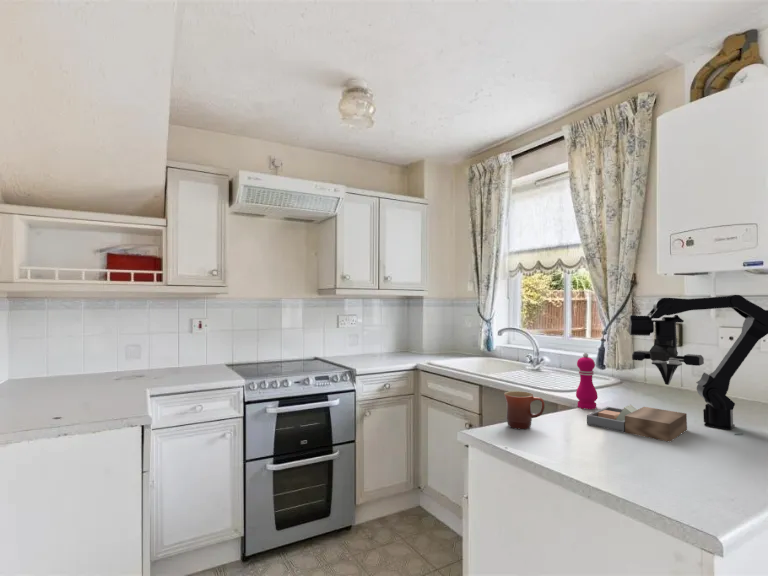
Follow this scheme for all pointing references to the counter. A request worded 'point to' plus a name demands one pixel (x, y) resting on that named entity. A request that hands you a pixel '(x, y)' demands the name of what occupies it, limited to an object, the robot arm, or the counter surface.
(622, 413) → the tile sage
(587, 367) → the pepper mill
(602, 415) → the tile terracotta
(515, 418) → the mug
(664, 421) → the brown wooden block
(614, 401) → the counter surface
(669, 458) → the counter surface
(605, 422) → the box
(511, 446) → the counter surface
